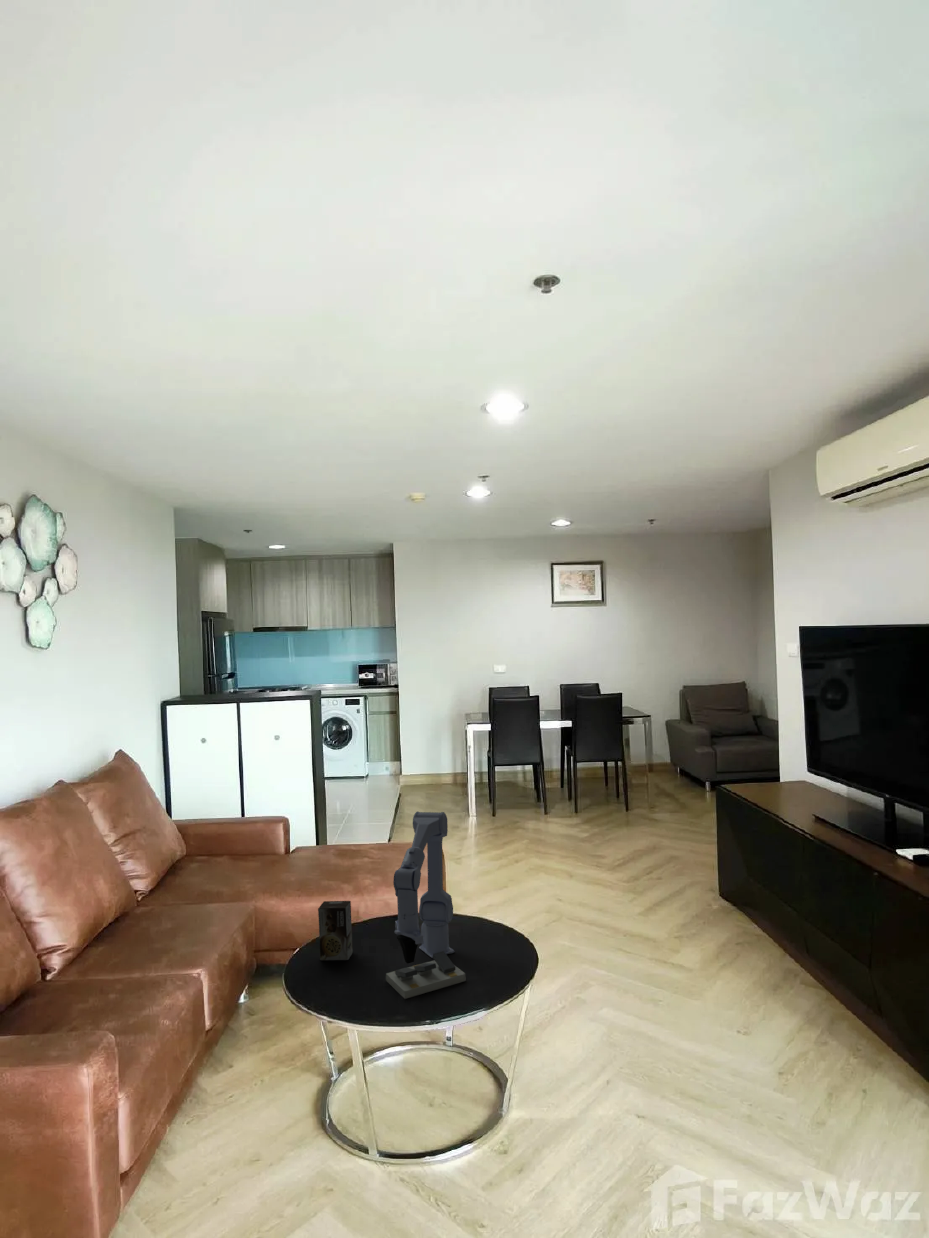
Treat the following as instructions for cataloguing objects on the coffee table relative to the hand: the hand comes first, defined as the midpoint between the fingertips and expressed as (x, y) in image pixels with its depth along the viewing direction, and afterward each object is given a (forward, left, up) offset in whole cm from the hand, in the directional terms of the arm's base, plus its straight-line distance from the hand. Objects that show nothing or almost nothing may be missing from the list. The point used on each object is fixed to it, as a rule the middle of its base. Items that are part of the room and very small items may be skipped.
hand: (409, 961), depth 197 cm
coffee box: (-34, -10, -8) cm, 36 cm away
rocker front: (-3, 0, -4) cm, 5 cm away
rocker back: (-3, +12, -4) cm, 13 cm away
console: (-3, +6, -8) cm, 10 cm away
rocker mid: (-3, +6, -4) cm, 8 cm away
